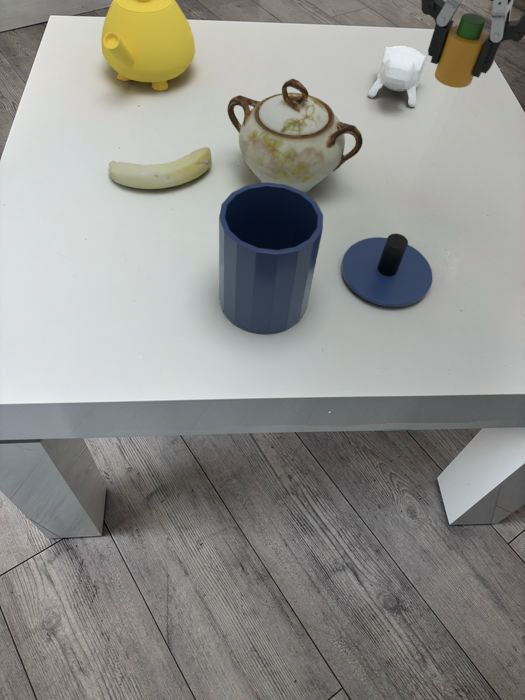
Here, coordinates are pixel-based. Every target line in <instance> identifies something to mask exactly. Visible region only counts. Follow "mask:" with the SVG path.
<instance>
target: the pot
mask: <svg viewBox="0 0 525 700" xmlns="http://www.w3.org/2000/svg"><path fill="white" fill-rule="evenodd" d="M219 210H220V211H219V216H218V293H219V294H218V296H219V297H218V299H219V303H220V307H221V310H222V313H223V314H224V315H225V317H226V318H227V320H229V322H231V323H232V325H235V326H236V327H237V328H239V329H242V330H243V331H246V332H249V333H253V334H258V335H273V334H278V333H282V332H284V331H287V330H289V329H291V328H293V327H294V326H295V325H296V324H298V323H299V321H301V319H302V317H303V316H304V314H305V312H306V310H307V307H308V303H309V297H310V293H311V288H312V285H313V284H312V283H313V279H314V273H315V269H316V264H317V259H318V254H319V249H320V244H321V239H322V234H323V230H324V214H323V212H322V210H321V208H320V207H319V205H318V202H317V201H316V200H315V199H313V198H312V197H311V196H309V195H308V194H307V192H305V193H304V192H302V191H301V190H298V189H295V188H293V187H290V186H288V185H285V184H277V183H267V182H266V183H262V182H260V183H253V184H247V185H245V186H243V187H240V188H238V189H237V190H234V191H232V192H231V193H230V194H229V195H228V196H227V198H225V199H224V201H223V202H222V203H221V205H220V209H219Z"/></svg>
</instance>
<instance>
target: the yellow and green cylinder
mask: <svg viewBox="0 0 525 700" xmlns="http://www.w3.org/2000/svg"><path fill="white" fill-rule="evenodd" d="M486 21H487V20H486V18H485V17H484V16H482V15H480V14H477V13H473V12H472V13H471V12H468V13H464V14H462V16H461V18H460V20H459V24H458V25H453V26H452V27H451V28H450V29H449V31H448V34H447V37H446V40H445V44H444V47H443V50H442V53H441V56H440V59H439V62H438V64H436V65H437V66H436V68H435V72H434V77H435V79H436V80H437V81H438V82H439V83H440V84H442V85H444V86H446V87H451V88H457V89H458V88H460V89H461V88H466V87H468V86H470V85H471V84H472V82H473V79H474V76H472V75H473V72H474V69H475V67H476V64H477V62H478V59H479V56H480V54H481V51H482V48H483V46H484V43H485V41H486V39H487V38H488V36H489V35H487V33H486V32H484V31H483V30H484V28H485V25H486V23H487V22H486Z"/></svg>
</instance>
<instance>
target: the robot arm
mask: <svg viewBox="0 0 525 700" xmlns="http://www.w3.org/2000/svg"><path fill="white" fill-rule="evenodd" d="M463 1H464V0H446V1H445V0H421V12H422V14H424V15H425V16H430V17H431V18H433V20H434V22H435V25H434V29H433V32H432V36H431V39H430V42H429V45H428V49H427V56H429V57H431V59H430V63H432V64H434V65H438V62H439V59H440V56H441V53H442V50H443V47H444V44H445V40H446V37H447V34H448V31H449V29H450V28H451V27H453V26H454V23H455V20H453V19H454V15H455V14H456V13H457V11H458V9H459V7H460V6H461V4H462V3H463ZM489 1H490V2H492V7H491V25H490V32H489V35H487V36H488V38H487V39H486V41H485V43H484V46H483V48H482V51H481V54H480V56H479V59H478V62H477V64H476V67H475V69H474V72H473V75H472V76H473V77H474V78H480V77H481V75H482V74H487V73H488V71H489V70H490V69H491V68H492V66H493V64H494V62H495V59H496V57H497V54H498V52H499V49H500V47H501V45H502V43H503V42H504V41H509V40H512V41H513V42H520V41H522V39H523V38H524V37H525V12H524V13H523V14H522V15H521V17H520V18H519V19H516V20H511V14H512V8H513V4H514V0H489Z"/></svg>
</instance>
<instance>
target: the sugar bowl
mask: <svg viewBox="0 0 525 700" xmlns="http://www.w3.org/2000/svg"><path fill="white" fill-rule="evenodd" d="M288 88H293V89H295V90H297V91H299V93H298V92H288ZM236 106H239V107H241V108H242V110H243V121H242V123H241V122H240V121H239V119H238V118H237V116H236V114H235V107H236ZM250 107H253V108H252V109H250ZM226 111H227V115H228V118H229V120H230V122H231V125H233V127H234V128H235V129H236V131H237V132H238V147H239V150H240V153H241V156H242V158H243V160H244V162H245V163H246V165H247V167H248V168H249V169H250V171H251V172H252V173H253V174H254V175H255V176H256V177H257V179H258V180H259V181H260V183H266V182H267V183H277V184H285V185H288V186H290V187H293V188H295V189H298V190H301V191H302V192H304V193H307V192H309V191H311V190H312V189H313V188H314V187H315V186H316V185H318V184H319V183H320V182H322V181H323V180H324V179H325V178H327V176H329V175H330V174H331V173H333V172H335V171H337V170H338V169H340V167H342V165H343V164H344V163H346V162H347V161H348V160H351V159H352V158H354V156H355V155H357V154H358V153H359V152H360V150H361V148H362V147H363V141H364V140H363V136H362V133H361V131H360V130H359V129H358V128H357V126H355V125H353V124H350V123H345V122H342V121H340V119H339V118H338V116H337V114H335V113H334V111H333V110H332V108H331V106H329V104H327V103H326V102H325V101H323V100H322V99H320V98H317V97H315V96H313V95H309V91H308V89H307V88H306V87H305V85H304V84H302V83H301V81H299V80H297V79H295V78H291V79H288V80H286V81H285V82H284V83H283V84H282V87H281V93H276V94H273V95H271V96H268V97H266V98H264V99H262V100H261V101H259V100H256V99H252V98H250V97H246V96H244V95H241V94H240V95H236V96H234V97H232V98H231V99H230V100H229V102H228V104H227V110H226ZM345 134H348V135H351V136H353V138H354V140H355V145H354V147H353V148H352V149H351V150H350V151H349V152H347V153H346V154H344V152H345V147H346V135H345Z"/></svg>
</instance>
